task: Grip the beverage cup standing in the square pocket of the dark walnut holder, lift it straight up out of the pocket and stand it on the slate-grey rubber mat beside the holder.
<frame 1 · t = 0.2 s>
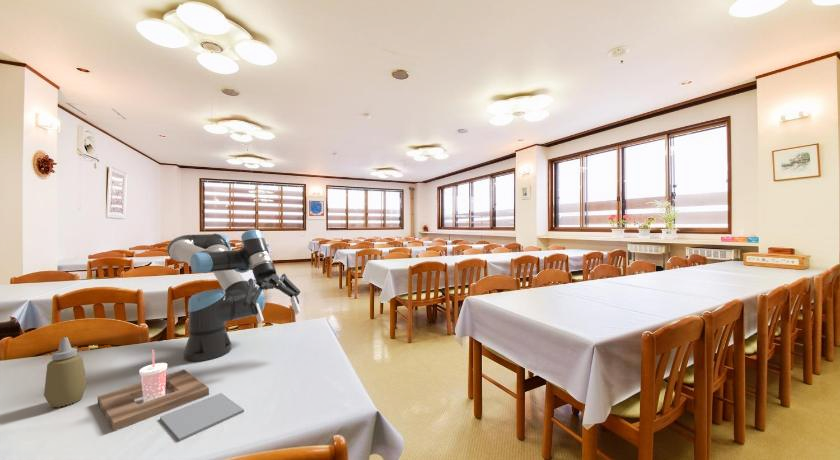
hand: (280, 317, 115), 15 cm above the table, tool tilted 35°, fingers open, 13 cm apart
beverage cup: (154, 399, 90), resting in pocket holder
squeeze bottle: (66, 403, 89), on the table
pocket holder: (154, 399, 90), on the table
rubber mat: (202, 415, 82), on the table
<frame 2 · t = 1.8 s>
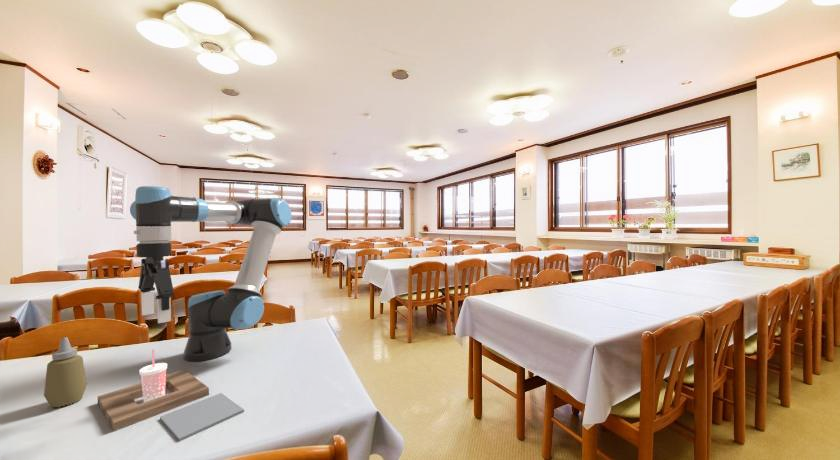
hand: (155, 318, 90), 23 cm above the table, tool pointing down, fingers open, 13 cm apart
nothing on the table moved.
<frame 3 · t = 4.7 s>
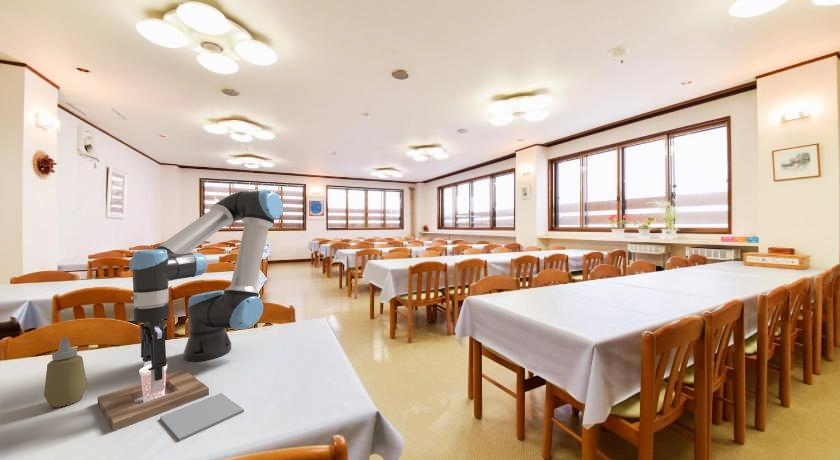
hand: (154, 387, 90), 3 cm above the table, tool pointing down, fingers closed on beverage cup, 6 cm apart
beverage cup: (154, 399, 90), resting in pocket holder, touching gripper
everything else where it was.
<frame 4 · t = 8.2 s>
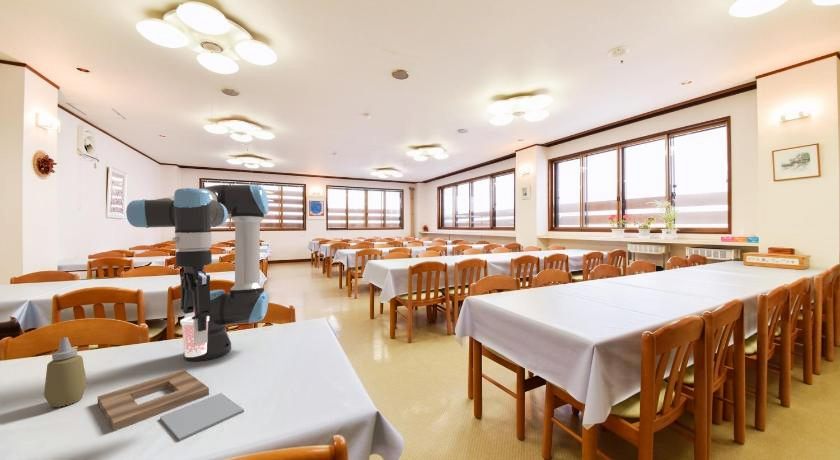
hand: (196, 340, 82), 19 cm above the table, tool pointing down, fingers closed on beverage cup, 6 cm apart
beverage cup: (196, 354, 82), point 16 cm above the table, touching gripper
everything else where it was.
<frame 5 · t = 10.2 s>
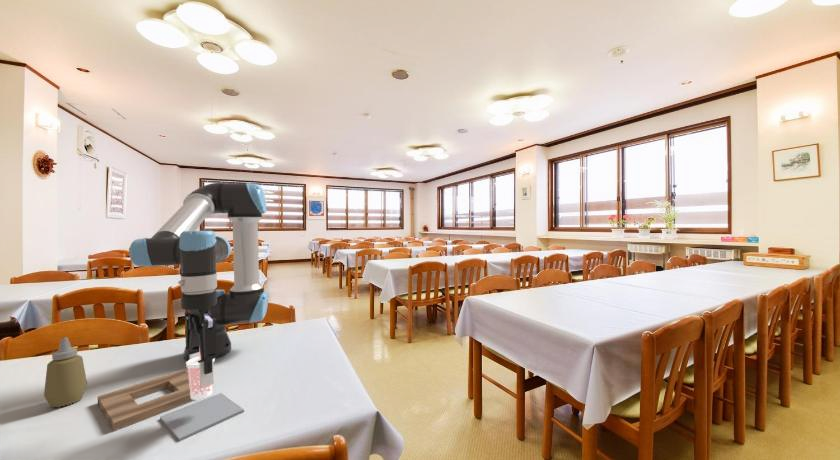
hand: (201, 381, 82), 9 cm above the table, tool pointing down, fingers closed on beverage cup, 6 cm apart
beverage cup: (201, 395, 82), point 5 cm above the table, touching gripper
everything else where it was.
when the fingers open (5 cm above the table, at t = 11.7 s): beverage cup drops 1 cm, resting on rubber mat.
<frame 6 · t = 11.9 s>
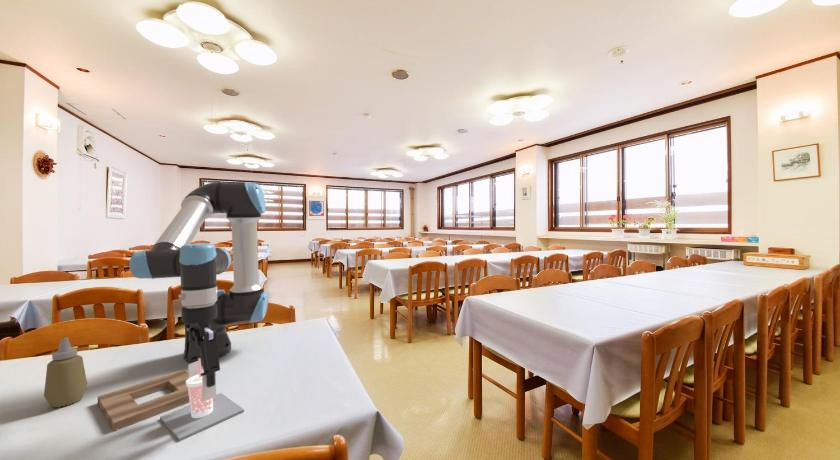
hand: (202, 392, 82), 6 cm above the table, tool pointing down, fingers open, 9 cm apart
beverage cup: (202, 413, 82), resting on rubber mat
everything else where it was.
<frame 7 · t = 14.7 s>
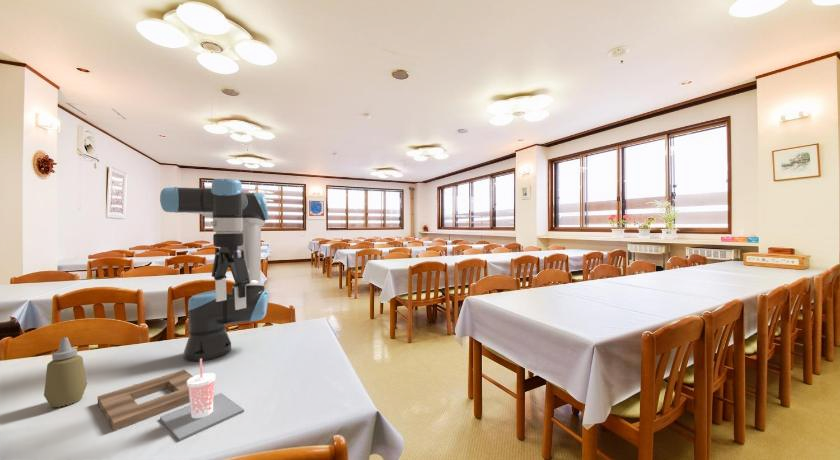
hand: (230, 304, 95), 25 cm above the table, tool pointing down, fingers open, 13 cm apart
nothing on the table moved.
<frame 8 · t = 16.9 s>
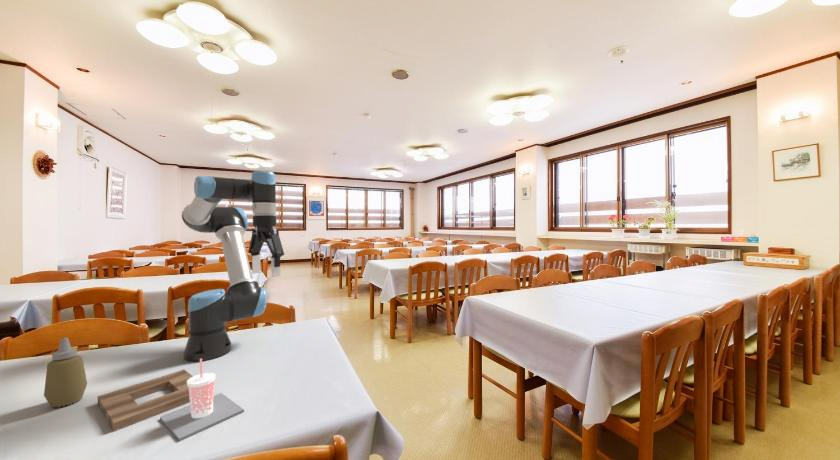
hand: (265, 274, 115), 31 cm above the table, tool pointing down, fingers open, 13 cm apart
nothing on the table moved.
at the end: beverage cup inside the target area on the rubber mat (0.0 cm from its centre), point 0.4 cm above the rubber mat's base; beverage cup tilted 0°; the gripper is holding nothing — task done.
